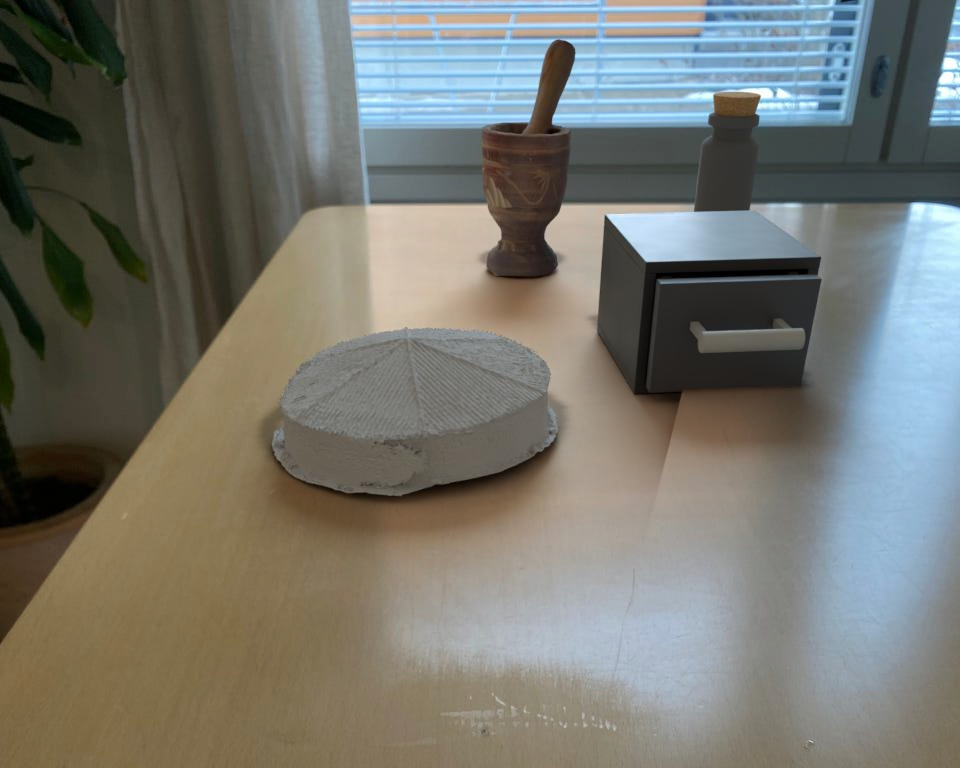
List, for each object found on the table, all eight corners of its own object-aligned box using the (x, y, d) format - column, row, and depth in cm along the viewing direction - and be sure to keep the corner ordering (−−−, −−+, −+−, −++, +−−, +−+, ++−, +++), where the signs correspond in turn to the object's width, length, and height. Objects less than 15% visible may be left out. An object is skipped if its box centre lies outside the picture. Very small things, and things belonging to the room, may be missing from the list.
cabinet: (796, 387, 74) (821, 256, 69) (633, 394, 73) (646, 262, 68) (737, 326, 86) (755, 210, 80) (596, 331, 85) (604, 214, 80)
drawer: (822, 409, 69) (846, 296, 64) (663, 415, 68) (676, 302, 63) (743, 328, 83) (758, 231, 78) (611, 332, 82) (619, 235, 78)
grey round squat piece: (594, 488, 61) (601, 383, 57) (270, 514, 58) (254, 405, 54) (529, 374, 77) (531, 285, 73) (272, 390, 74) (260, 299, 70)
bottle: (726, 241, 110) (747, 89, 101) (753, 253, 106) (778, 96, 97) (679, 245, 109) (697, 91, 100) (705, 258, 104) (726, 99, 95)
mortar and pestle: (497, 248, 108) (499, 36, 96) (574, 253, 106) (585, 38, 95) (473, 277, 99) (471, 47, 87) (557, 282, 97) (567, 49, 85)
